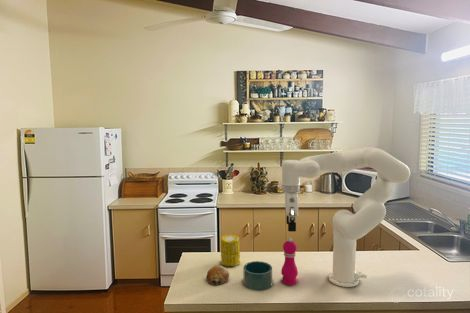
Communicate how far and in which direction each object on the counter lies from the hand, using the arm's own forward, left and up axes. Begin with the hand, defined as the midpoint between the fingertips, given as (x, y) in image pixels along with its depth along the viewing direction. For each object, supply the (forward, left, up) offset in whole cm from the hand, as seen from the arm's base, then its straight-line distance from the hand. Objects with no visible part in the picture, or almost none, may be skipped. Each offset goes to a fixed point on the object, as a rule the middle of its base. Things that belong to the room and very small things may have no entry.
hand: (291, 227), depth 139 cm
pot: (+14, +2, -25) cm, 29 cm away
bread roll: (+32, +1, -25) cm, 41 cm away
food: (+28, -16, -25) cm, 41 cm away
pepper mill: (0, 0, -25) cm, 25 cm away
